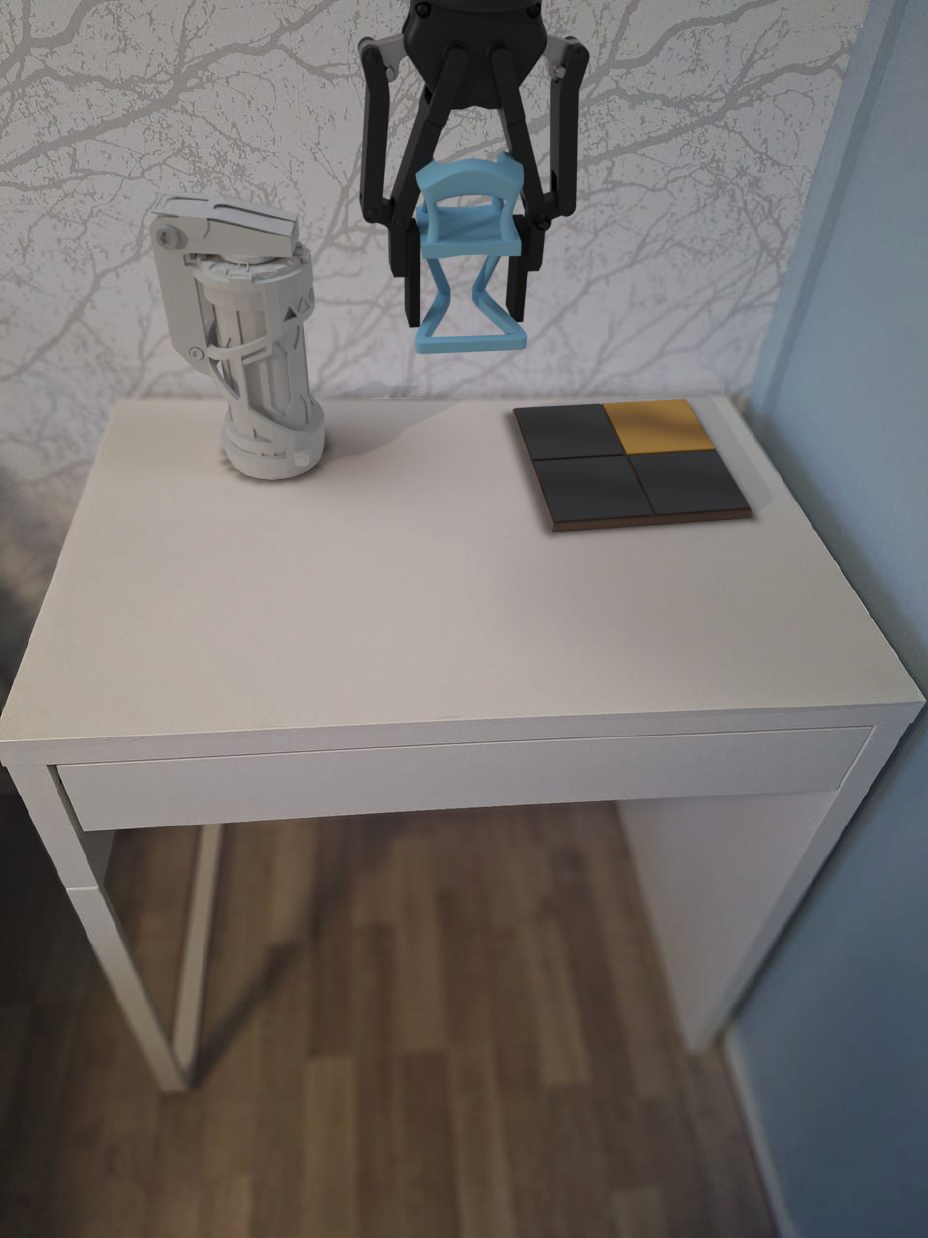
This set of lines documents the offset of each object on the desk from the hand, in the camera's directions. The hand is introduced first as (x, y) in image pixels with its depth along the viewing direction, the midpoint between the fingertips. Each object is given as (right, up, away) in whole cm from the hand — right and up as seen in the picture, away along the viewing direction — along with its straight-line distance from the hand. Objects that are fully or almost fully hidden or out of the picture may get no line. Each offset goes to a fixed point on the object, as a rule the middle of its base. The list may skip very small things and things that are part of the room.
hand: (463, 315), depth 66 cm
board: (+17, -6, +30) cm, 35 cm away
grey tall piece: (-21, -5, +29) cm, 36 cm away
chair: (0, -1, +1) cm, 1 cm away
